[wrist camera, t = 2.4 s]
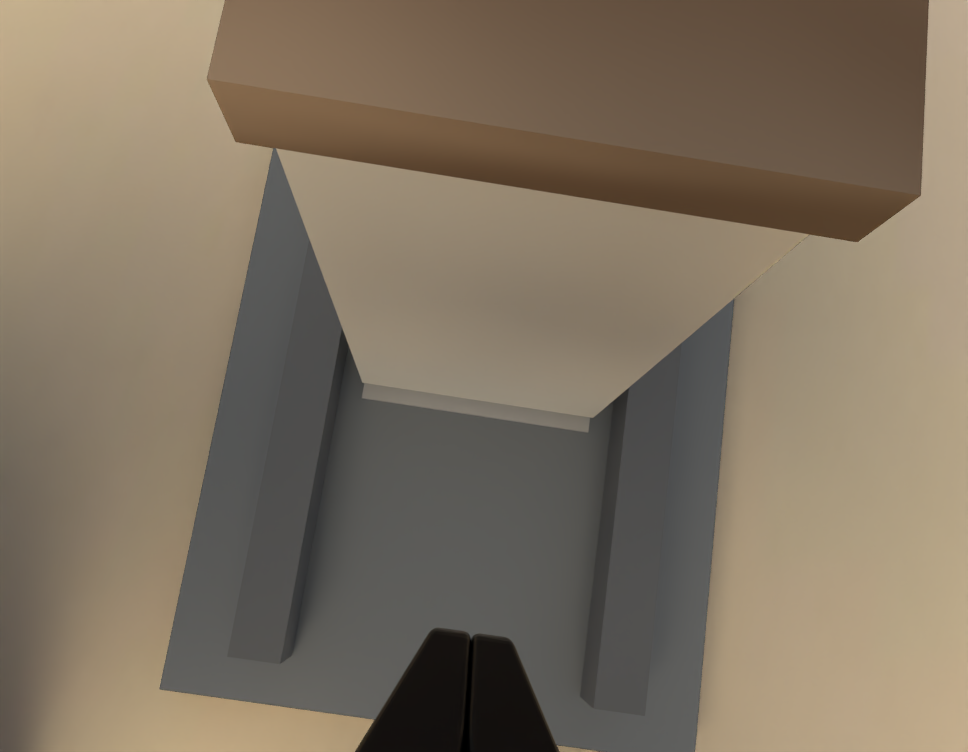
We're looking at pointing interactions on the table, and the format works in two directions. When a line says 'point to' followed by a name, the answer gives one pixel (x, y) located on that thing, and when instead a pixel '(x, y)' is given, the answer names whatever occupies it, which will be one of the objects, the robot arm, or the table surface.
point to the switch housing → (446, 524)
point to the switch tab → (568, 168)
